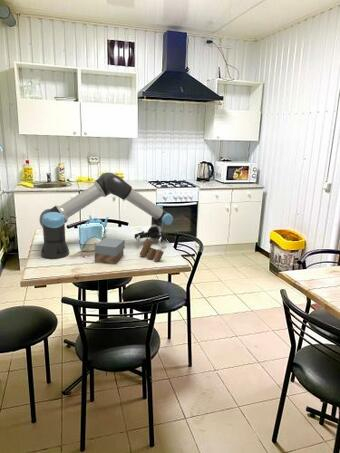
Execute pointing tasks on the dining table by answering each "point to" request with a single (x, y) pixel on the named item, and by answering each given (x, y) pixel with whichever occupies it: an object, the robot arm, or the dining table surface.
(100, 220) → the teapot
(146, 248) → the wooden block set
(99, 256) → the tower base
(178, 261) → the dining table surface
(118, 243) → the tower top
